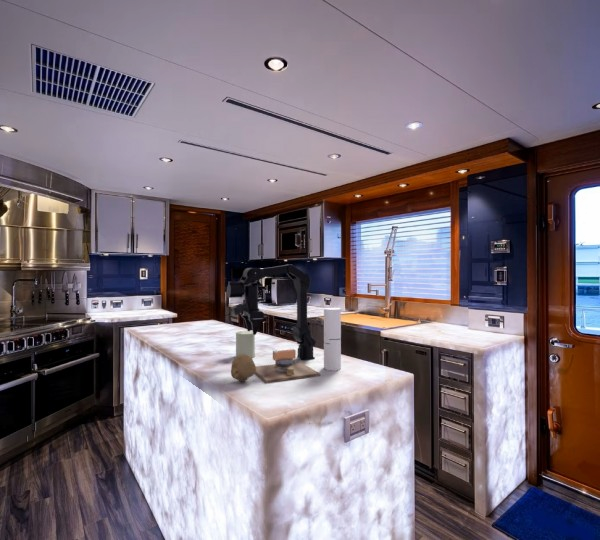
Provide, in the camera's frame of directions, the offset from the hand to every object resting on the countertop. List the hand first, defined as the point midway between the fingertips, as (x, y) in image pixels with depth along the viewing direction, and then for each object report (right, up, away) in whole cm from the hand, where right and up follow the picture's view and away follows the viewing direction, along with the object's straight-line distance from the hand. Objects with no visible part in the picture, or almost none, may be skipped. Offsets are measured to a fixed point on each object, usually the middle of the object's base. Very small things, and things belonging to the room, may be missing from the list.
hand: (251, 332), depth 154 cm
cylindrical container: (+35, -14, -4) cm, 38 cm away
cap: (+15, -11, -11) cm, 21 cm away
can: (-5, -14, +16) cm, 22 cm away
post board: (+15, -14, -11) cm, 23 cm away
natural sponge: (0, -14, -23) cm, 27 cm away
